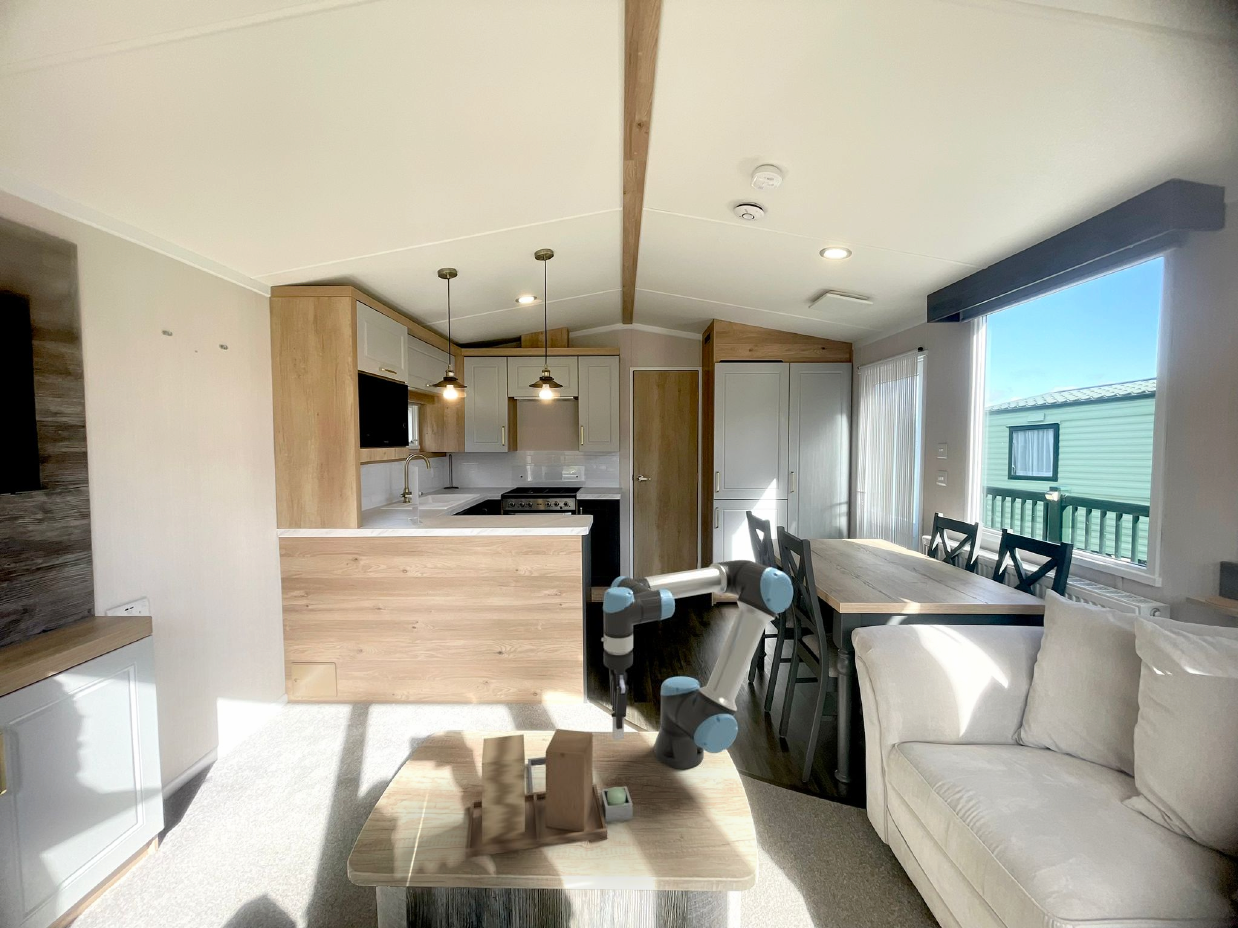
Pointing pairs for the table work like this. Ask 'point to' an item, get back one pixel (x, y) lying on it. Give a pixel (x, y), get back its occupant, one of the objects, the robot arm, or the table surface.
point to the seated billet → (503, 789)
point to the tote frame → (531, 762)
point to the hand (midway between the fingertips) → (618, 737)
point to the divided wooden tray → (534, 827)
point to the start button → (616, 796)
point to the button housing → (616, 808)
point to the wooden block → (569, 780)
